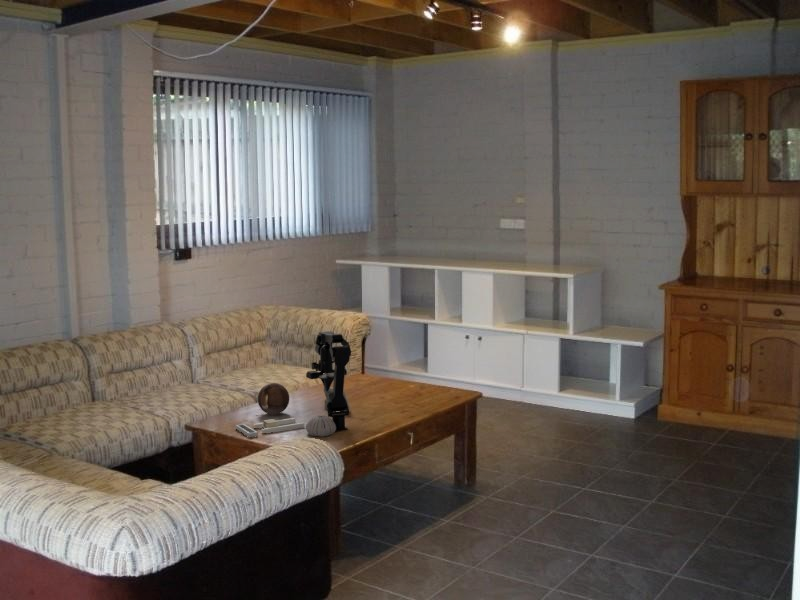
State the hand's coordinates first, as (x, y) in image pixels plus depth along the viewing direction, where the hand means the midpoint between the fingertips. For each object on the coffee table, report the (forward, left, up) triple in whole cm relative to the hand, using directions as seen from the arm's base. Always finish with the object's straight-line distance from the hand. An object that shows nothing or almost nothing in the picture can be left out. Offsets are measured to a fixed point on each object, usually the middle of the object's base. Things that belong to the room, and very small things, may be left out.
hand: (327, 391), depth 421 cm
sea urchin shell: (-22, +14, -13) cm, 29 cm away
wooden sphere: (+21, +18, -13) cm, 31 cm away
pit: (-3, +41, -13) cm, 44 cm away
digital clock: (+13, -12, -13) cm, 22 cm away
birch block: (-3, +30, -13) cm, 33 cm away
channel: (-3, +26, -13) cm, 29 cm away
